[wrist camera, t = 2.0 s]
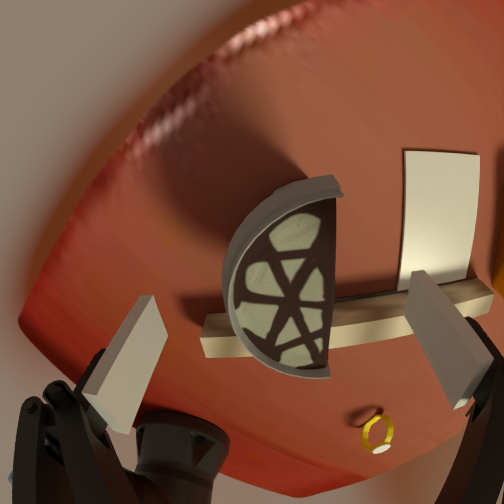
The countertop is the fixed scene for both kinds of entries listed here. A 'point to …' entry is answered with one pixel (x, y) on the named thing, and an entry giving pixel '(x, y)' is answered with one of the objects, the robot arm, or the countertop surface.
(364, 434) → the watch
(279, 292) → the food container
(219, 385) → the countertop surface
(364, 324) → the maple straightedge
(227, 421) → the countertop surface
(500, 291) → the element tile
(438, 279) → the plate
